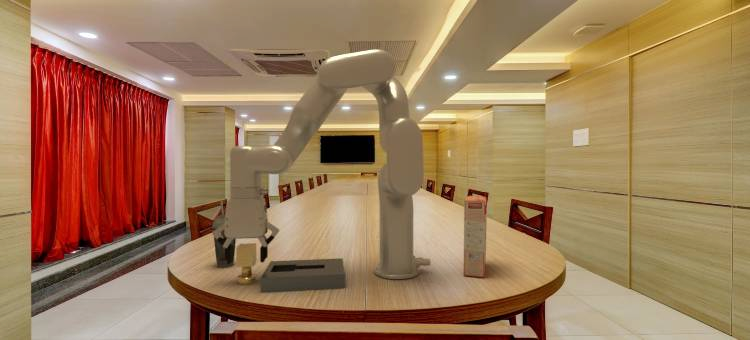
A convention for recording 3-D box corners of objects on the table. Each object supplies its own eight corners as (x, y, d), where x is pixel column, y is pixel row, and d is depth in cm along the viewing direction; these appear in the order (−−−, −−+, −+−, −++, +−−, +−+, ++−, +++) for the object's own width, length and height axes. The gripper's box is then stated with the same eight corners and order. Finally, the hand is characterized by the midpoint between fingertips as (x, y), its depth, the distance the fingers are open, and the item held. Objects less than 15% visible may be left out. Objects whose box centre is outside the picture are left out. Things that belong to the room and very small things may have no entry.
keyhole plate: (342, 270, 96) (342, 258, 96) (344, 288, 82) (344, 273, 82) (270, 273, 93) (270, 261, 93) (260, 292, 79) (260, 277, 79)
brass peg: (257, 278, 89) (257, 243, 89) (253, 284, 85) (253, 247, 85) (240, 279, 88) (239, 243, 88) (235, 285, 84) (235, 247, 84)
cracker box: (486, 278, 89) (486, 200, 88) (462, 276, 90) (462, 199, 90) (486, 264, 102) (486, 195, 102) (466, 262, 104) (466, 195, 103)
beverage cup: (228, 269, 97) (227, 201, 96) (206, 268, 98) (205, 200, 98) (243, 262, 104) (242, 198, 104) (222, 261, 105) (221, 198, 105)
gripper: (282, 192, 91) (283, 256, 91) (215, 193, 89) (216, 259, 89) (278, 194, 84) (279, 264, 84) (205, 195, 81) (205, 267, 82)
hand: (246, 261), depth 86 cm, fingers open, 7 cm apart
